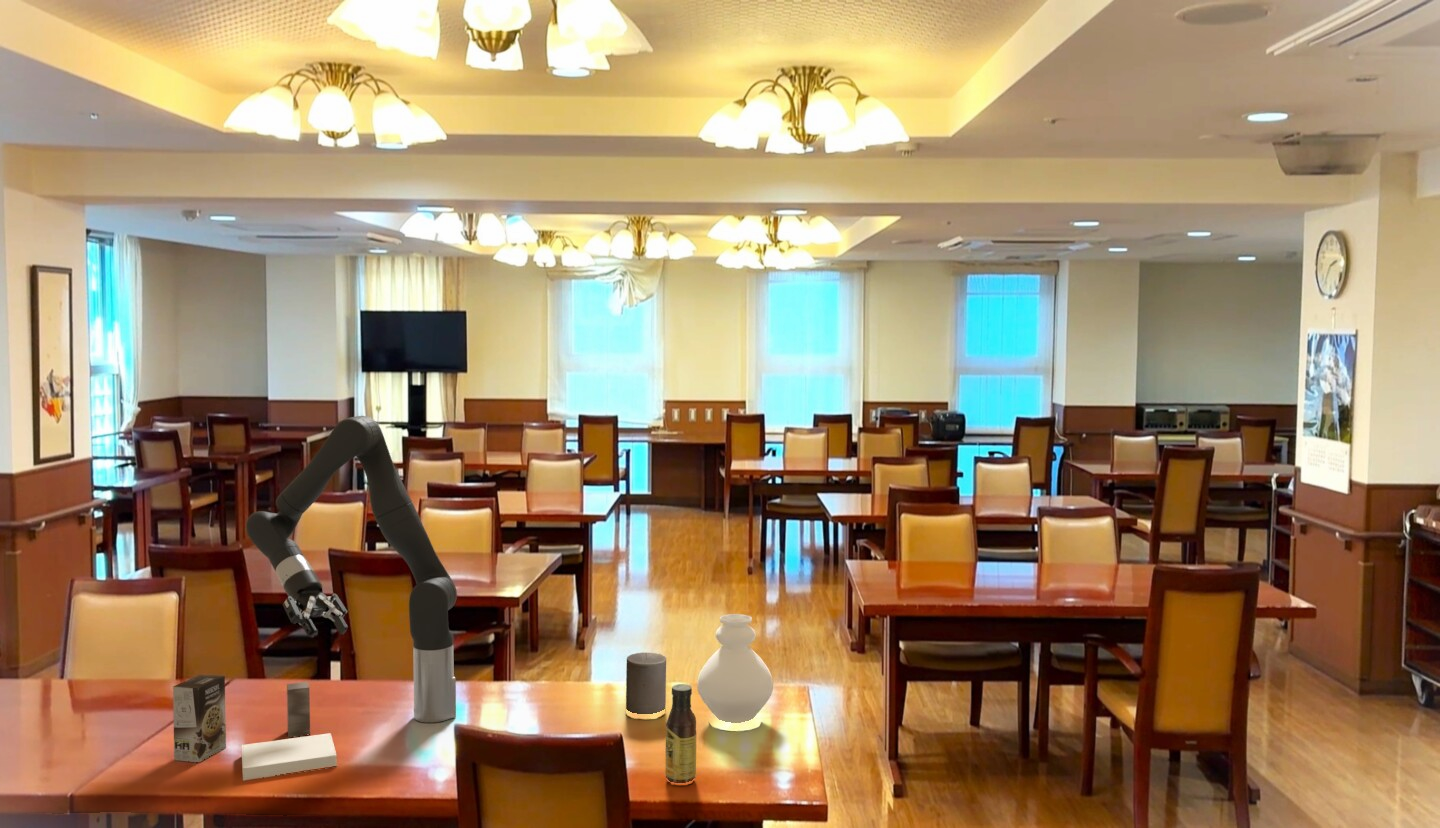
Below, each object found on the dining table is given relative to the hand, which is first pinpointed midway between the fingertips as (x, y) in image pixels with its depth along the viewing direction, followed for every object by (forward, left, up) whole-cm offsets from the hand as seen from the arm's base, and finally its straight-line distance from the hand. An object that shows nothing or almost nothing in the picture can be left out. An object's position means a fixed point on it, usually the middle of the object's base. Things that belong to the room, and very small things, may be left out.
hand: (329, 633), depth 246 cm
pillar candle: (-70, +17, -23) cm, 76 cm away
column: (+7, -2, -23) cm, 24 cm away
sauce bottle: (-62, +58, -23) cm, 88 cm away
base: (+10, +15, -23) cm, 29 cm away
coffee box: (+27, +3, -23) cm, 35 cm away
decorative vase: (-87, +31, -23) cm, 95 cm away
